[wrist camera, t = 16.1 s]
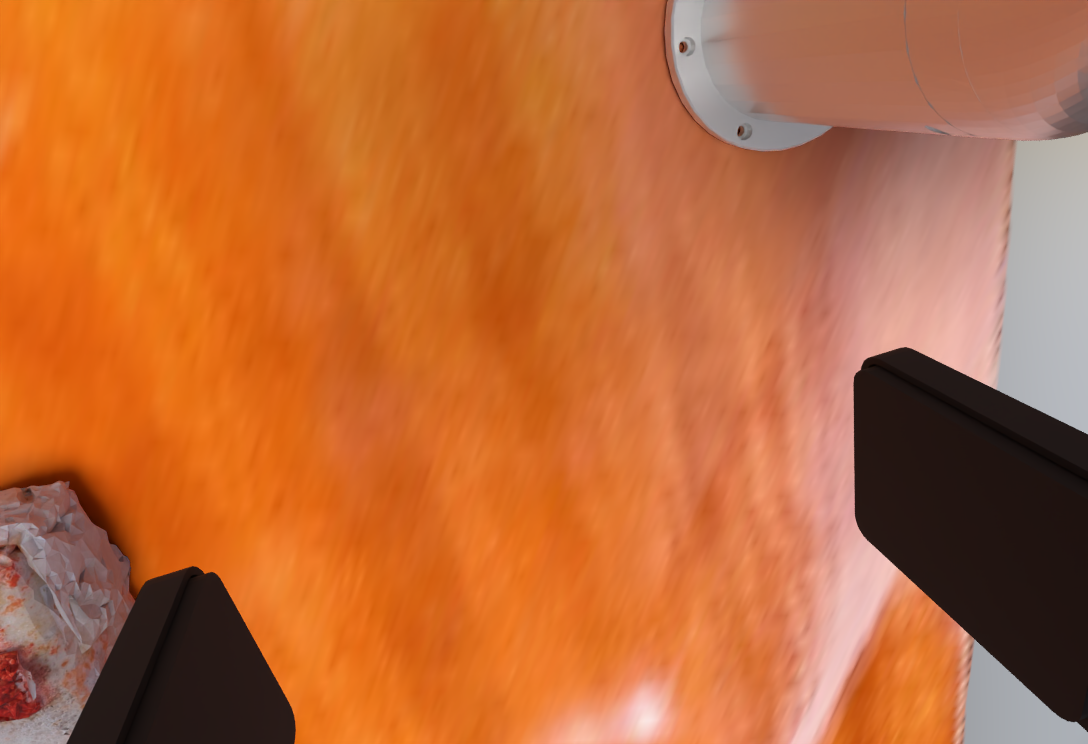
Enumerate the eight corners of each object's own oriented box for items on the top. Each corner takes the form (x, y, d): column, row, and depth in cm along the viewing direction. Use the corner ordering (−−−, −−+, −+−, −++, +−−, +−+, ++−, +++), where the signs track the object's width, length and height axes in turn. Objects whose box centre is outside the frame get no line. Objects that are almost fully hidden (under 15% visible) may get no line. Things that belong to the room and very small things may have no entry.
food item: (-73, 494, 35) (-228, 632, 26) (85, 451, 36) (-12, 570, 27) (58, 674, 41) (-32, 837, 32) (191, 633, 42) (140, 780, 33)
